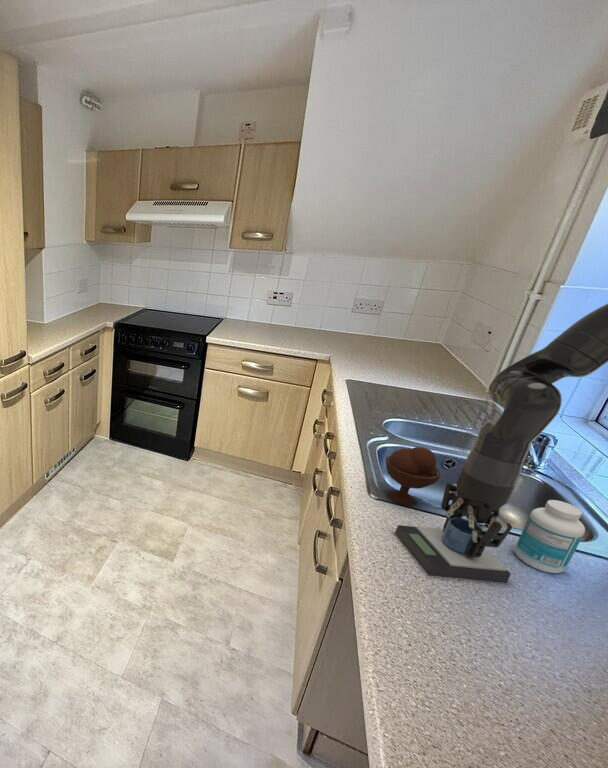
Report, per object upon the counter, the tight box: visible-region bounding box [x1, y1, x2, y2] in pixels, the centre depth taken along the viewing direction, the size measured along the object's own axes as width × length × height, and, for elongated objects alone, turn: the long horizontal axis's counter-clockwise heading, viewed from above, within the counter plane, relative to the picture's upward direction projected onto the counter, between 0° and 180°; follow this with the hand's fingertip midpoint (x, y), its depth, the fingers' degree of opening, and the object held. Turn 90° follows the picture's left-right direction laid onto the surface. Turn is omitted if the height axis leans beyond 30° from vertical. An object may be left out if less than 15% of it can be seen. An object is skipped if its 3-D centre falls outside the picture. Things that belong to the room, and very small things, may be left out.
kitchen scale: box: [394, 525, 512, 583], centre depth 85 cm, size 14×12×3 cm
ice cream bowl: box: [385, 446, 441, 506], centre depth 101 cm, size 11×11×15 cm
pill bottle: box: [514, 499, 586, 574], centre depth 82 cm, size 8×7×14 cm
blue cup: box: [442, 517, 482, 555], centre depth 84 cm, size 6×6×5 cm
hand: (459, 544), depth 84 cm, fingers closed on blue cup, 6 cm apart
